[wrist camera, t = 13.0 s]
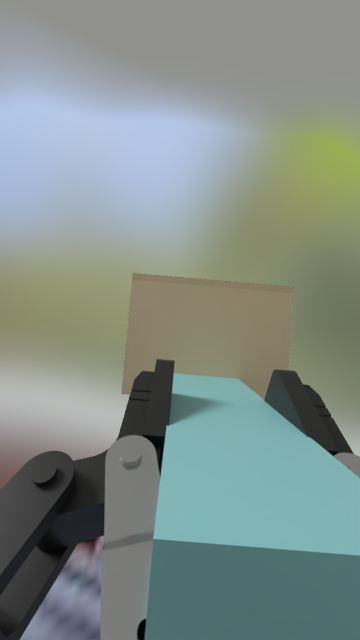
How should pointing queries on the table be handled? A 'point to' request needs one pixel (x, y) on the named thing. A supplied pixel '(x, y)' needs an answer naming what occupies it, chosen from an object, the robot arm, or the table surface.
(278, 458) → the carton
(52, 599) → the table surface
